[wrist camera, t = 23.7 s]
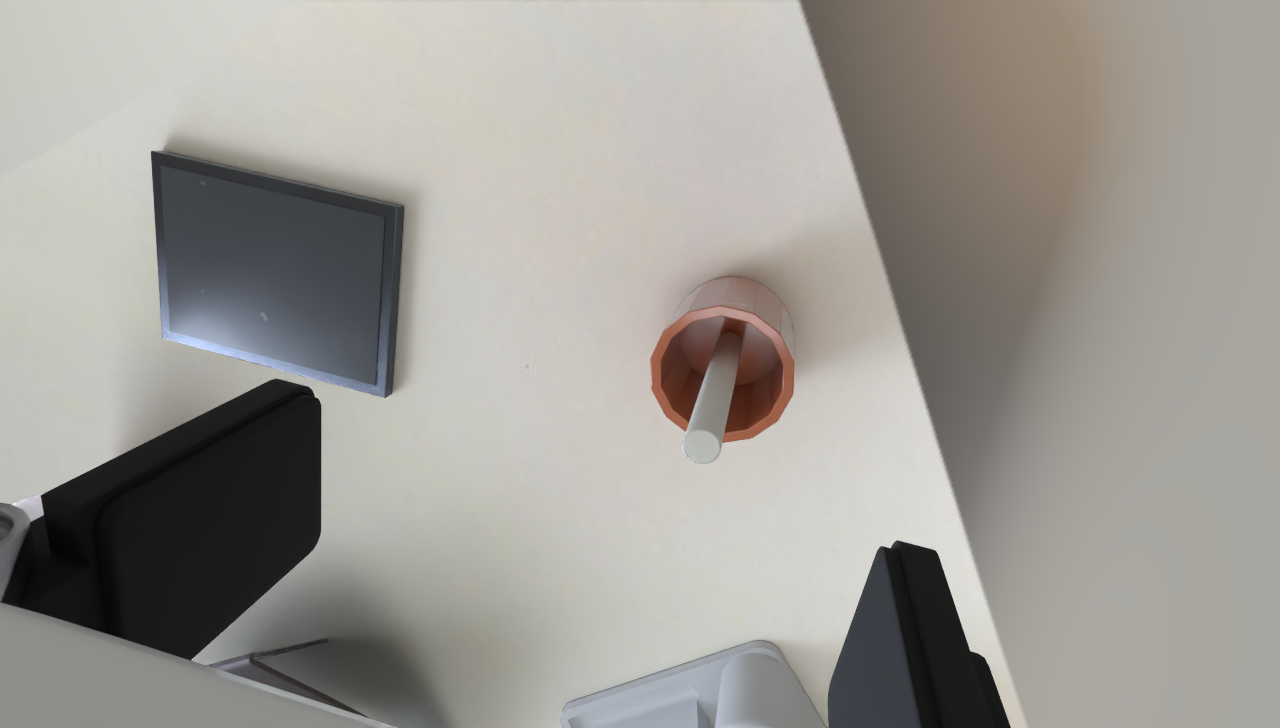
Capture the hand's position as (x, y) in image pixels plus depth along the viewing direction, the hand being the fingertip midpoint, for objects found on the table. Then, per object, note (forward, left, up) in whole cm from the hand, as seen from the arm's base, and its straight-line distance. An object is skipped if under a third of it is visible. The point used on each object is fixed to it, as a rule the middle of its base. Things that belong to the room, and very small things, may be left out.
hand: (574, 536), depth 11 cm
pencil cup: (+4, +1, -28) cm, 28 cm away
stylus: (+4, +1, -28) cm, 28 cm away
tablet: (+7, -27, -28) cm, 39 cm away
